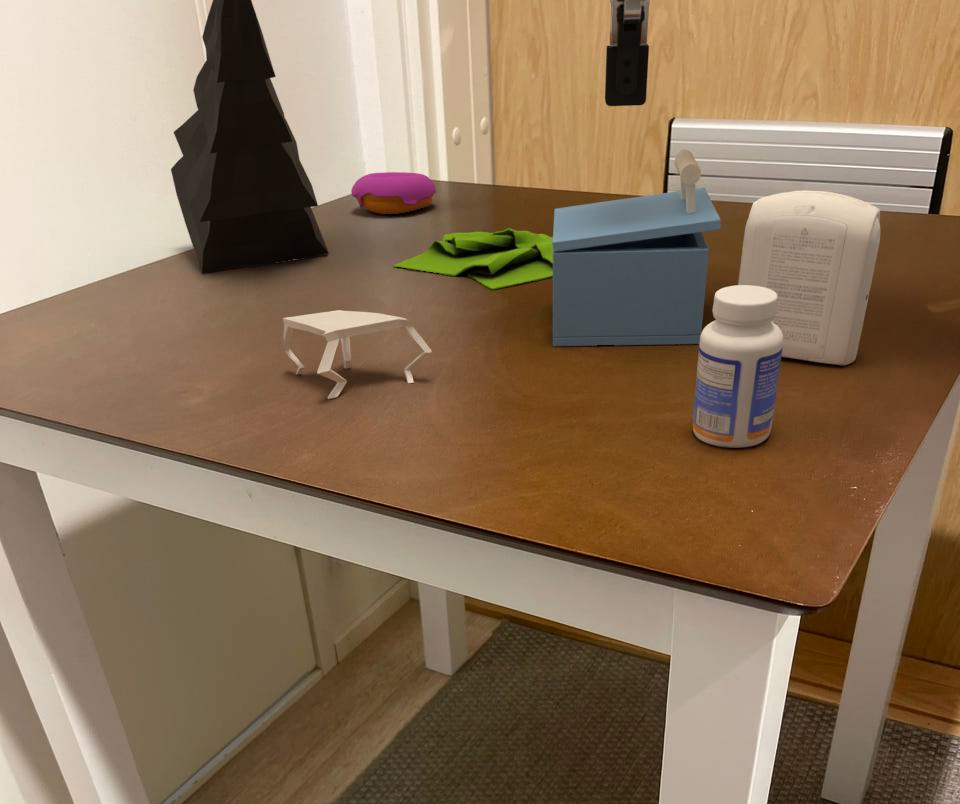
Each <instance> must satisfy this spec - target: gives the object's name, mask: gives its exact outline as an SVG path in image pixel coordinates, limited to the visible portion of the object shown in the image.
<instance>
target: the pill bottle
mask: <svg viewBox="0 0 960 804" xmlns="http://www.w3.org/2000/svg"><path fill="white" fill-rule="evenodd" d="M777 300H778V295H777V293H776V292H775V291H773V290H771V289H768V288H765V287H760V286H752V285H738V284H737V285H730V286H729V285H728V286H725V287H721V288H720V289H718V290H717V291H716V292H715V293H714V297H713V304H712V316H713V318H714V319H715V320H713V321H711V322H710V323H708V324H707V325H706V326H704V328H702V332H701V336H700V344H698V357H697V365H696V367H697V368H696V378H695V379H696V381H695V392H694V405H693V415H692V431H693V433H694V435H695V437H696V438H697V439H698V440H700V441H702V442H704V443H705V444H708V445H710V446H711V445H712V446H714V447H715V446H716V447H722V448H731V449H733V448H734V449H735V448H736V449H738V448H739V449H740V448H751V447H754V446H757V445H759V444H762V443H763V442H765V440H767V439H768V438H769V436H770V434H771V432H772V426H773V420H774V413H775V407H776V398H777V390H778V383H779V377H780V368H781V361H782V357H781V355H782V348H783V334H782V331H781V330H780V328H779V327H778V326H777V325H776V324H774V323H772V322H771V320H773V319H774V318H775V315H776V312H777Z"/></svg>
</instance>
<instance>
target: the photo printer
mask: <svg viewBox="0 0 960 804" xmlns="http://www.w3.org/2000/svg"><path fill="white" fill-rule="evenodd" d="M880 221H881V209H880V208H879V207H876V206H875V205H873V204H871V203H869V202H866V201H865V200H861V199H859V198H856V197H853V196H850V195H846V194H842V193H837V192H831V191H824V190H793V191H785V192H780V193H774V194H771V195H767V196H764V197H760V198H758V199H757V200H756V201H754V202H753V203H752V205H751V208H750V211H749V215H748V218H747V221H746V224H745V227H744V233H743V243H742V250H741V259H740V266H739V274H738V281H737V285H752V286H760V287H765V288H768V289H771V290H773V291H775V292H776V293H777V295H778V300H777V312H776V315H775V318H774V319H773V320H771V322H772V323H774V324H776V325H777V326H778V327H779V328H780V330H781V331H782V334H783V348H782V355H781V358H789V359H794V360H800V361H808V362H814V363H820V364H829V365H837V366H841V367H842V366H843V367H844V366H847V365H850V364H852V363H854V362H855V361H856V359H857V355H858V350H859V346H860V345H859V344H860V341H861V336H862V332H863V327H864V321H865V316H866V312H867V306H868V302H869V296H870V292H871V288H872V282H873V277H874V273H875V267H876V262H877V257H878V252H879V248H880V242H881V231H882V230H881V224H880V223H881V222H880Z"/></svg>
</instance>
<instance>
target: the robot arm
mask: <svg viewBox="0 0 960 804" xmlns="http://www.w3.org/2000/svg"><path fill="white" fill-rule="evenodd" d="M609 3H610V11H609V12H610V16H609V17H610V18H609V45H606V50H605V51H606V53H605V54H606V55H605V80H604V82H605V83H604V84H605V85H604V101H605V104H606V105H607V106H608V107H629V106H630V107H632V106H633V107H634V106H643V105H645V103H646V102H647V90H648V73H649V56H650V45H649V43H648V32H649V31H648V29H649V16H650V15H649V14H650V5H651V0H609Z"/></svg>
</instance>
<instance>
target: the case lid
mask: <svg viewBox="0 0 960 804" xmlns="http://www.w3.org/2000/svg"><path fill="white" fill-rule="evenodd" d="M674 165H675V168H676V170H677V173H678V175H679V178H680V190H677V191H669V192H663V193H656V194H650V195H643V196H642V195H641V196H635V197H627V198H620V199H613V200H608V201H607V200H606V201H600V202H599V201H598V202H592V203H586V204H580V205H579V204H578V205H572V206H571V205H570V206H566V207H557V208H554V211H553V212H554V214H553V229H552V237H553V242H552V244H553V252H558V251H566V250H573V249H580V248H588V247H595V246H602V245H610V244H617V243H625V242H632V241H639V240H647V239H654V238H662V237H669V236H676V235H684V234H691V233H699V232H702V233H705V232H712V231H713V232H714V231H719V230H721V229H722V220H721V217H720V215H719V214H718V212H717V209H716V207H715V205H714V203H713V201H712V199H711V197H710V195H709V194H708V192H707V190H706V187H699V188H698V187H697V188H696V184H697V183H698V182H699V180H700V179H701V177H702V176H701V175H702V170H701V168H700V166H699V164H698V161H697V160H696V158H695V156H694V155H693V153H692V151H690V150H688V149H681V150H679V151H678V152H677V153H676V154H675V157H674Z"/></svg>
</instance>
